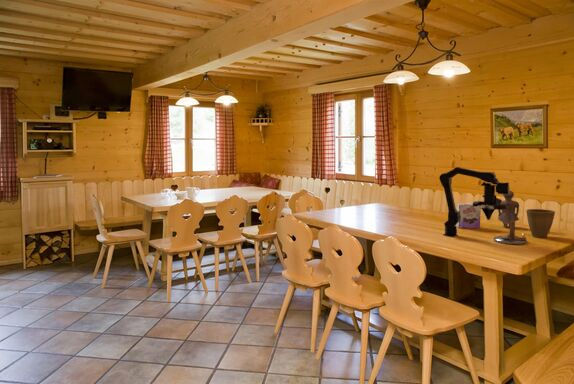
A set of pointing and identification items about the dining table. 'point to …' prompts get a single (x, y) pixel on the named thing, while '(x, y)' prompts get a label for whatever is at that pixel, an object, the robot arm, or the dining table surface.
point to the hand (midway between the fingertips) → (488, 219)
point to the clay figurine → (509, 210)
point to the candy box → (469, 216)
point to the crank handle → (512, 233)
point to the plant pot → (540, 221)
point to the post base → (508, 242)
